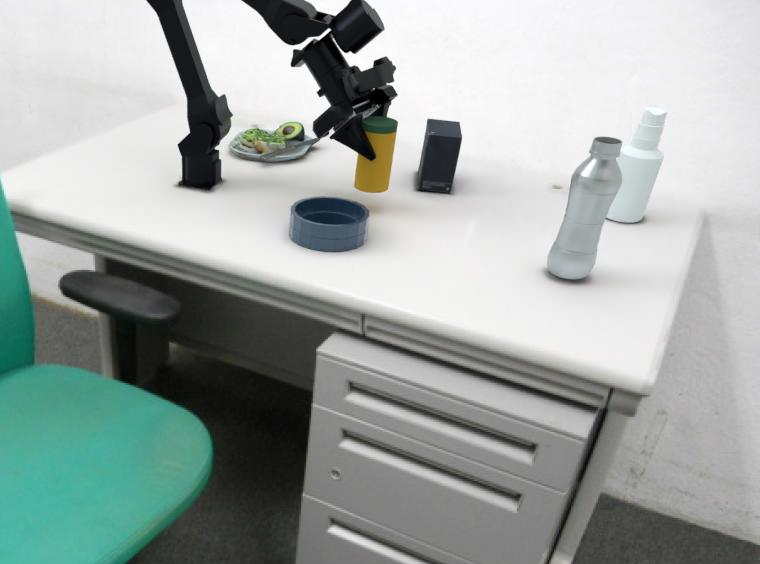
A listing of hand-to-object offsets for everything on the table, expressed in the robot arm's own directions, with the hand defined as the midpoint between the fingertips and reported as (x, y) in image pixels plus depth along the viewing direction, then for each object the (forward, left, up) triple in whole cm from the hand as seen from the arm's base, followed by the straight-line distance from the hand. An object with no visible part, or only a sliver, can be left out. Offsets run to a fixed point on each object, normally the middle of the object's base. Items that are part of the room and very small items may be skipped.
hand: (382, 154), depth 127 cm
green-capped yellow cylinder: (-1, 0, -6) cm, 6 cm away
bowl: (-4, -14, -10) cm, 18 cm away
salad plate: (-29, +26, -11) cm, 40 cm away
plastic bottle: (+32, -10, -11) cm, 35 cm away
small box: (+6, +21, -11) cm, 24 cm away
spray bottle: (+39, +19, -11) cm, 45 cm away
